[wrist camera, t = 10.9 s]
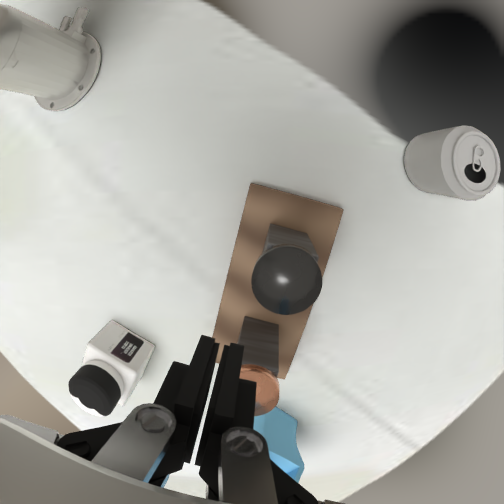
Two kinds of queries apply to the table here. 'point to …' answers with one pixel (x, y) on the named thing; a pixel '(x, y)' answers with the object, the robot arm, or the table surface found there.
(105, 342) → the container
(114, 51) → the table surface
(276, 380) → the plunger terracotta
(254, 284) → the plunger black
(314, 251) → the stand
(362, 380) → the table surface
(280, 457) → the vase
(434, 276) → the table surface
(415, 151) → the can
